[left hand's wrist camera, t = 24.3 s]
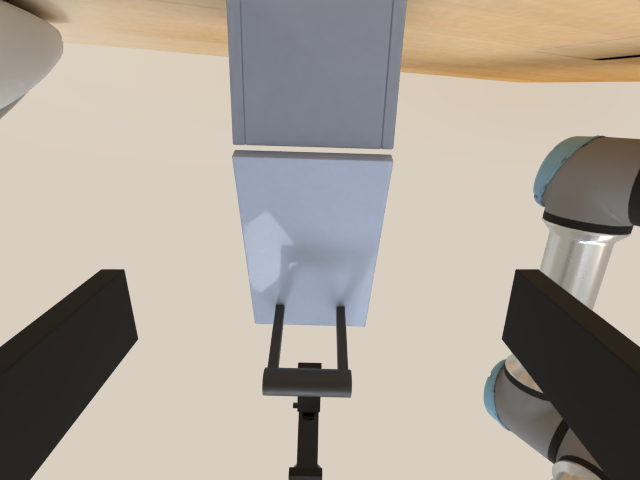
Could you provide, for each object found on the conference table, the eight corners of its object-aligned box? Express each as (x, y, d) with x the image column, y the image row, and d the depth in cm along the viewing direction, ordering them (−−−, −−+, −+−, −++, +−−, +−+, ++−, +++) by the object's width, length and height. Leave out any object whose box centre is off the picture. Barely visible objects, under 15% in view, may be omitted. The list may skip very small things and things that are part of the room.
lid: (364, 319, 33) (373, 412, 26) (256, 316, 33) (239, 409, 26) (391, 154, 22) (416, 243, 16) (234, 149, 22) (198, 237, 16)
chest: (372, 14, 33) (364, 134, 36) (265, 10, 33) (267, 131, 36) (412, -61, 19) (393, 149, 22) (223, -67, 19) (232, 144, 22)
